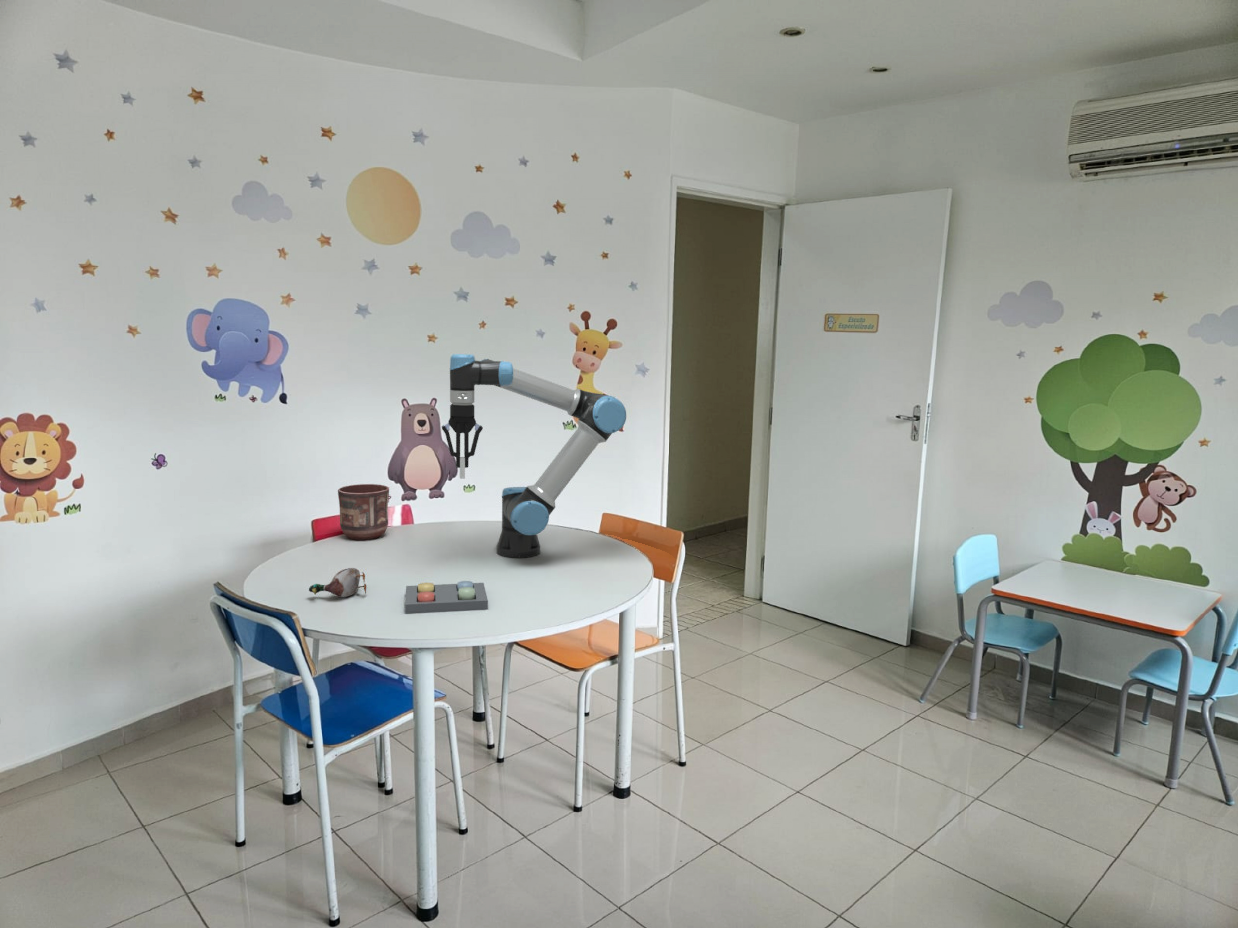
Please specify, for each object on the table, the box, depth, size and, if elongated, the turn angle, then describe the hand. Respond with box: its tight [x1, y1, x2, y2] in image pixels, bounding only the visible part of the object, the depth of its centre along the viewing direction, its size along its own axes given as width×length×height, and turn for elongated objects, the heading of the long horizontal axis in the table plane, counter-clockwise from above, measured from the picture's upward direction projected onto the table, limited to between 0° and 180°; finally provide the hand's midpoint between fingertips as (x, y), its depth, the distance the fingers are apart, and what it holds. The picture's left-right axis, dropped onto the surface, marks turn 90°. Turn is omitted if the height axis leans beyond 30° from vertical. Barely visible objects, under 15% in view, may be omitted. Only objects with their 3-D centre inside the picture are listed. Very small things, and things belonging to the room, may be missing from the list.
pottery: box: [337, 483, 390, 541], centre depth 285 cm, size 18×18×18 cm
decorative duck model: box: [308, 567, 367, 598], centre depth 224 cm, size 15×8×15 cm
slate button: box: [456, 580, 474, 591], centre depth 225 cm, size 4×4×3 cm
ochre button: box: [417, 582, 435, 593], centre depth 223 cm, size 4×4×3 cm
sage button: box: [459, 587, 475, 600], centre depth 218 cm, size 4×4×3 cm
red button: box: [418, 591, 434, 602], centre depth 215 cm, size 4×4×3 cm
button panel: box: [404, 582, 489, 615], centre depth 220 cm, size 22×16×2 cm
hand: (462, 477), depth 249 cm, fingers closed
